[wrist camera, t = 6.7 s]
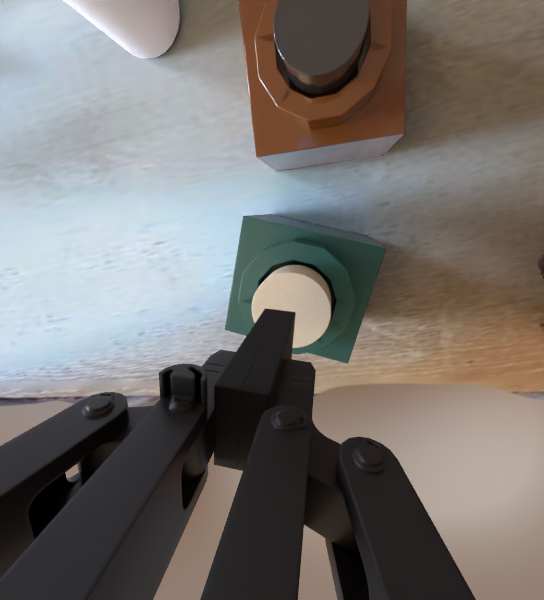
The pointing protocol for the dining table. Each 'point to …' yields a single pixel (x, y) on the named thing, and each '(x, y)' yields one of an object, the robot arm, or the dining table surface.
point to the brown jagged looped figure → (543, 267)
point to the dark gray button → (320, 40)
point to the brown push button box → (326, 94)
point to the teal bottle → (318, 256)
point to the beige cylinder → (296, 301)
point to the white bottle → (134, 23)
